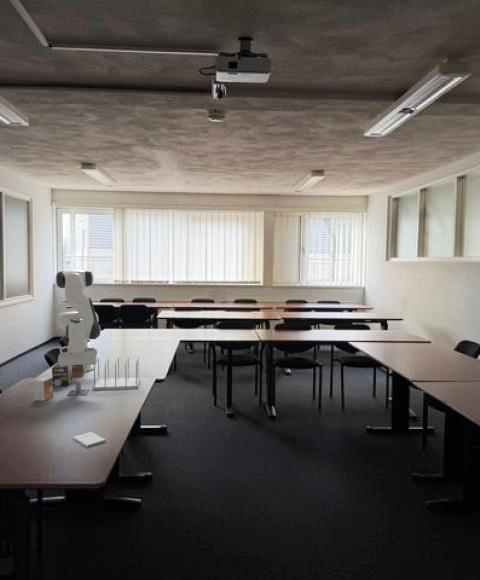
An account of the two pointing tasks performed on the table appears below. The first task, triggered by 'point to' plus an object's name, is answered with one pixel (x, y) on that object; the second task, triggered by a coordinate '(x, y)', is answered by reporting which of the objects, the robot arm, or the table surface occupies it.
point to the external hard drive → (89, 439)
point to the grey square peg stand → (78, 390)
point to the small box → (43, 388)
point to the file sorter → (116, 379)
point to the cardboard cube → (77, 371)
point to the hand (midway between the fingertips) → (78, 372)
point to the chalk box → (61, 375)
